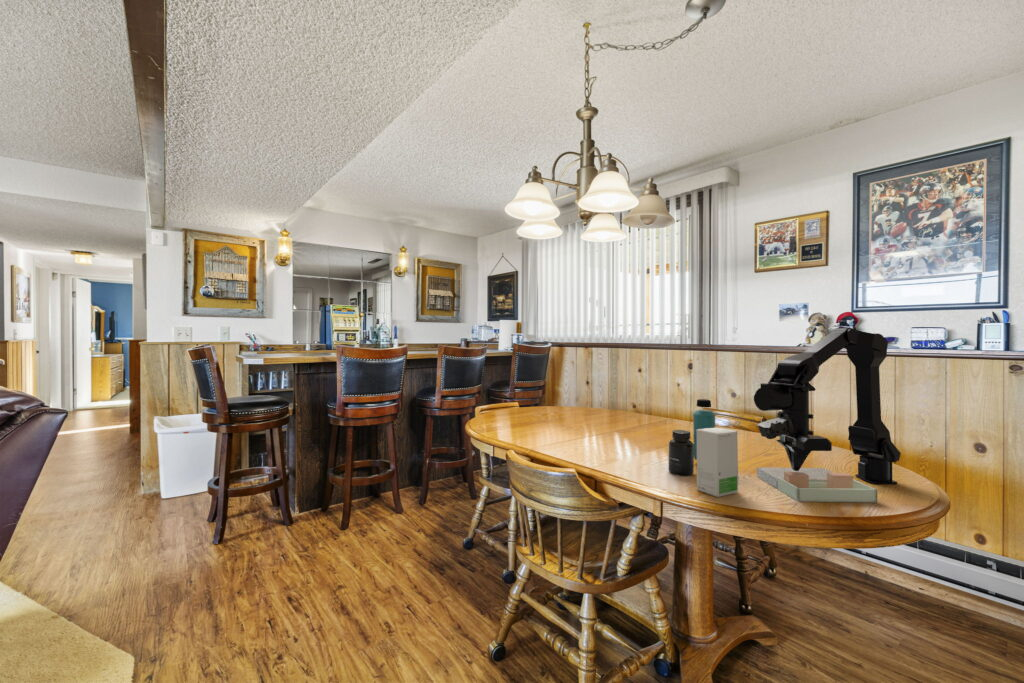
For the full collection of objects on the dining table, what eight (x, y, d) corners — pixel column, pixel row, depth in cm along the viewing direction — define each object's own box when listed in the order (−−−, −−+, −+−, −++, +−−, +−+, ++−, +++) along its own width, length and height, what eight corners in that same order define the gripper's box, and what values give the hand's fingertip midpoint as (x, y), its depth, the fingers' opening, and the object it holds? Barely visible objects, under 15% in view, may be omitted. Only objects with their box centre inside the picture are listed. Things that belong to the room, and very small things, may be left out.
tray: (850, 489, 110) (850, 477, 110) (877, 502, 101) (877, 489, 101) (777, 488, 111) (777, 477, 111) (797, 501, 102) (797, 488, 102)
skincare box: (717, 498, 105) (717, 433, 105) (694, 489, 111) (694, 429, 110) (739, 492, 109) (739, 430, 108) (716, 484, 114) (716, 425, 114)
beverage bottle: (718, 467, 129) (718, 401, 129) (695, 466, 131) (694, 400, 131) (713, 461, 136) (712, 398, 136) (690, 460, 137) (690, 397, 137)
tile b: (803, 472, 108) (808, 475, 106) (803, 490, 108) (808, 493, 106) (784, 471, 109) (788, 474, 107) (784, 489, 109) (788, 492, 107)
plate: (823, 476, 120) (823, 468, 120) (849, 489, 110) (849, 479, 110) (756, 476, 121) (756, 467, 121) (776, 488, 111) (776, 478, 111)
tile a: (846, 472, 108) (853, 476, 105) (846, 490, 108) (853, 494, 105) (826, 472, 108) (833, 475, 106) (827, 490, 108) (833, 493, 106)
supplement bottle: (668, 474, 123) (667, 432, 123) (669, 468, 129) (668, 428, 129) (694, 477, 120) (694, 434, 120) (693, 470, 127) (693, 429, 127)
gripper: (744, 403, 119) (745, 460, 119) (783, 415, 100) (783, 482, 100) (786, 403, 118) (786, 460, 118) (833, 415, 100) (833, 482, 100)
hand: (795, 470), depth 109 cm, fingers closed
